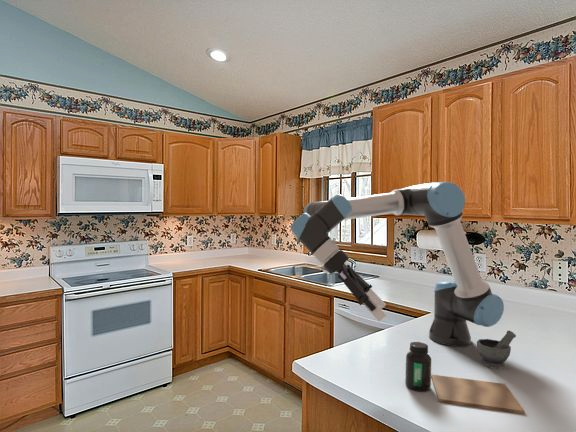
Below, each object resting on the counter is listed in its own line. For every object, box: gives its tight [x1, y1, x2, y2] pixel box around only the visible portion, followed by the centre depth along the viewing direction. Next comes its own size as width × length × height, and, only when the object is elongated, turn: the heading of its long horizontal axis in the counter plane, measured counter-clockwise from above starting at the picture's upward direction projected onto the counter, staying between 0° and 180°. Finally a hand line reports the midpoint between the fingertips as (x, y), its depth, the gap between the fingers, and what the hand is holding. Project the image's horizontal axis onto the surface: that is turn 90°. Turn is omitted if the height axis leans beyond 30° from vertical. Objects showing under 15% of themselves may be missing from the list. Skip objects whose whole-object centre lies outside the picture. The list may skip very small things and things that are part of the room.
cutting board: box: [431, 374, 526, 415], centre depth 100 cm, size 20×15×1 cm
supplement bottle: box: [404, 341, 432, 392], centre depth 104 cm, size 7×7×12 cm
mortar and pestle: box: [476, 330, 517, 370], centre depth 120 cm, size 11×9×12 cm
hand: (382, 312), depth 106 cm, fingers open, 11 cm apart
